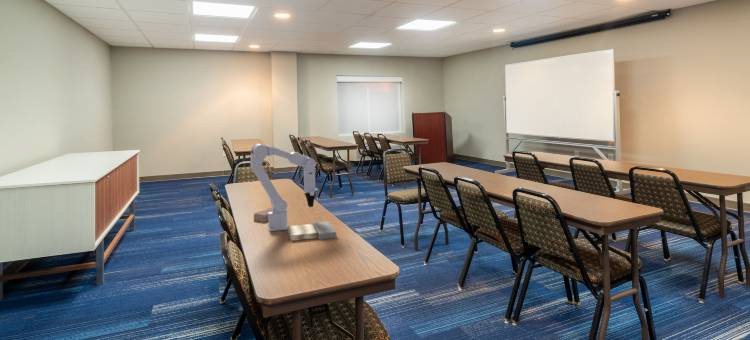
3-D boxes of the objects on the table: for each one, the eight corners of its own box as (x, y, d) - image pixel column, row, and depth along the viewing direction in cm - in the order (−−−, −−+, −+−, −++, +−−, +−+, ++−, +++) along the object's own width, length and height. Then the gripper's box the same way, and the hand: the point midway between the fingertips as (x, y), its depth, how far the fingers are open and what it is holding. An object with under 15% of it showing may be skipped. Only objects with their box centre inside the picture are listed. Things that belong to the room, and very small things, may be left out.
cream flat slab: (291, 240, 195) (291, 235, 195) (287, 231, 210) (287, 226, 210) (317, 237, 199) (317, 232, 198) (312, 228, 214) (312, 223, 213)
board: (319, 239, 197) (318, 233, 196) (312, 228, 216) (312, 222, 215) (336, 237, 199) (335, 231, 199) (328, 226, 218) (327, 221, 218)
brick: (264, 222, 228) (263, 214, 228) (252, 221, 233) (252, 212, 232) (285, 216, 243) (284, 207, 242) (274, 214, 247) (273, 206, 246)
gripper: (319, 182, 213) (320, 209, 215) (315, 178, 227) (316, 203, 229) (305, 183, 211) (306, 210, 213) (301, 179, 225) (302, 204, 227)
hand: (310, 206), depth 221 cm, fingers closed
